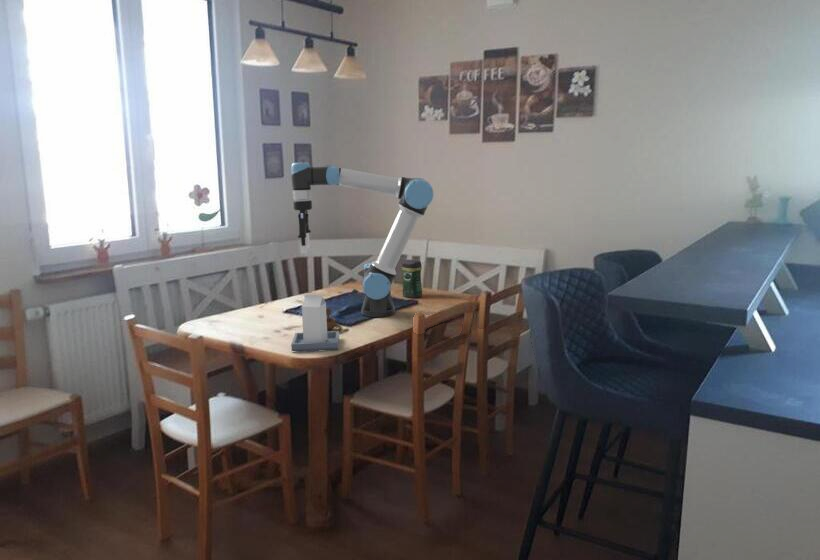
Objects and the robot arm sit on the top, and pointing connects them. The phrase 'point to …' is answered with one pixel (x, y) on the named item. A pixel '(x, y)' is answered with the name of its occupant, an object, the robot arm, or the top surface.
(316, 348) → the tray
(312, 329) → the milk carton
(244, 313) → the top surface
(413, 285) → the coffee jar
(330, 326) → the brown toy crab
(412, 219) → the robot arm
